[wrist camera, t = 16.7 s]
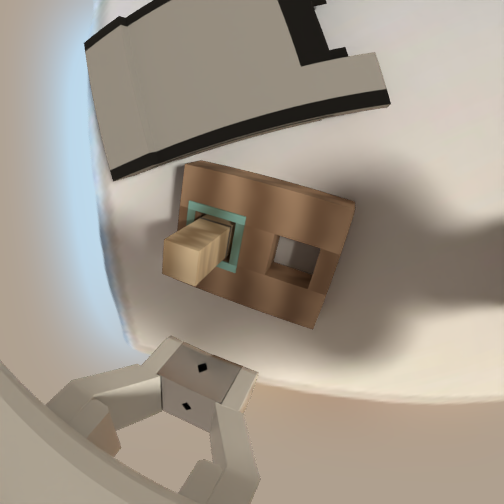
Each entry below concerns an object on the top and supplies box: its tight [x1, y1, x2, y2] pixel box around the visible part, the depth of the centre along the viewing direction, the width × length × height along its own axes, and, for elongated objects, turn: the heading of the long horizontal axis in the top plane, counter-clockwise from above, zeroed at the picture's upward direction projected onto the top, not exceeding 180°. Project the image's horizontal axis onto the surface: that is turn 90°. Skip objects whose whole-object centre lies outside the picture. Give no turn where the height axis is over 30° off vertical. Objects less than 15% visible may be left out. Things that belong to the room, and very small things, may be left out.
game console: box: [84, 0, 391, 181], centre depth 28 cm, size 21×32×8 cm, turn 106°
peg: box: [162, 214, 236, 286], centre depth 35 cm, size 4×4×12 cm
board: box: [176, 160, 355, 329], centre depth 37 cm, size 20×16×4 cm
